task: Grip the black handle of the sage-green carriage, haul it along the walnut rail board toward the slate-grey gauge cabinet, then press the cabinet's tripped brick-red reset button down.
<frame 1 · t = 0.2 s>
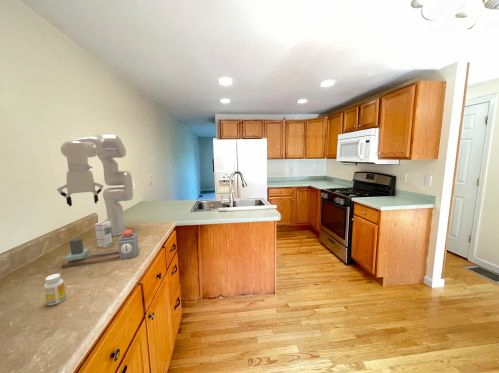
hand: (83, 204, 102), 30 cm above the countertop, fingers open, 9 cm apart
syrup box: (106, 245, 128), on the countertop
rail bed: (95, 259, 111), on the countertop
carriage: (76, 247, 108), point 7 cm above the countertop, slide at -7.0 cm
reset button: (127, 233, 114), point 12 cm above the countertop, slide at 0.0 cm
supplement bottle: (56, 301, 79), on the countertop
gauge cabinet: (129, 254, 116), on the countertop
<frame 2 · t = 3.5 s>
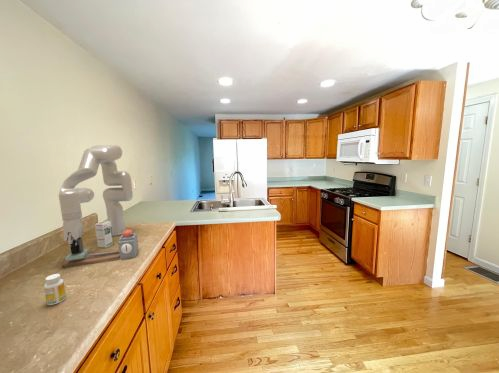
hand: (77, 250, 108), 6 cm above the countertop, fingers closed on carriage, 3 cm apart
carriage: (76, 247, 108), point 7 cm above the countertop, slide at -7.0 cm, touching gripper
everything else where it was.
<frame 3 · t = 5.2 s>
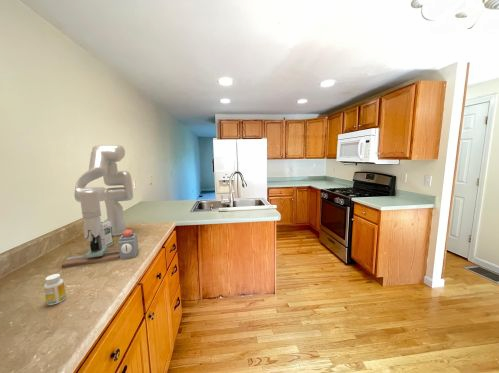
hand: (96, 248, 110), 6 cm above the countertop, fingers closed on carriage, 3 cm apart
carriage: (96, 245, 110), point 7 cm above the countertop, slide at 1.2 cm, touching gripper
everything else where it was.
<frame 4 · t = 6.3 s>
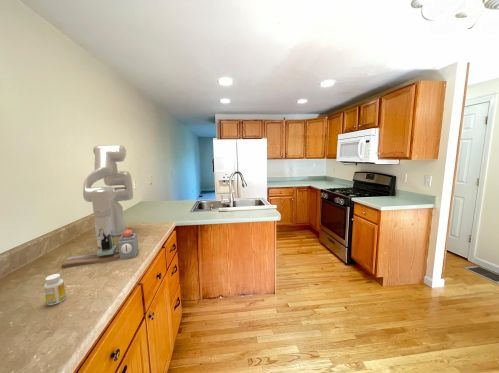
hand: (107, 246, 112), 6 cm above the countertop, fingers closed on carriage, 3 cm apart
carriage: (106, 243, 112), point 7 cm above the countertop, slide at 6.0 cm, touching gripper
everything else where it was.
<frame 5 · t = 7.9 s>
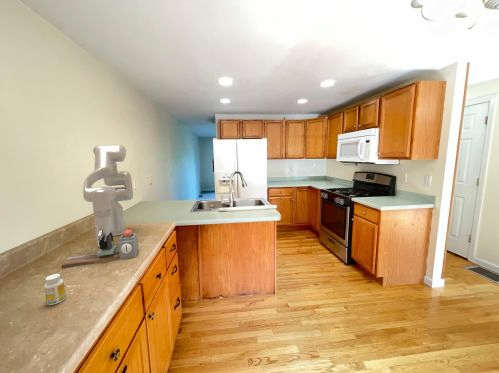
hand: (106, 245, 112), 7 cm above the countertop, fingers open, 9 cm apart
carriage: (106, 243, 112), point 7 cm above the countertop, slide at 6.0 cm
everything else where it was.
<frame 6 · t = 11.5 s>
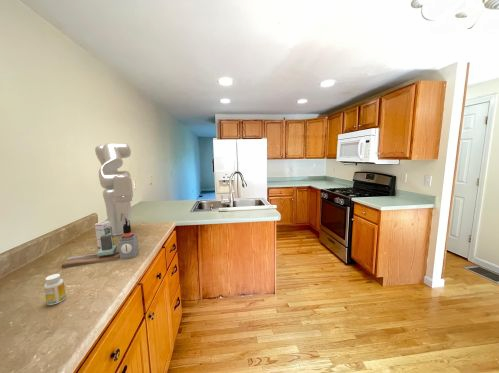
hand: (127, 232, 114), 12 cm above the countertop, fingers closed
reset button: (127, 234, 114), point 11 cm above the countertop, slide at 0.8 cm, touching gripper
everything else where it was.
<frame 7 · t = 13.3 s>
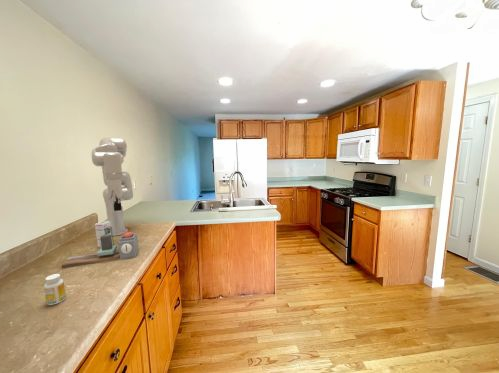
hand: (118, 210, 116), 24 cm above the countertop, fingers closed
reset button: (127, 235, 114), point 11 cm above the countertop, slide at 1.1 cm
everything else where it was.
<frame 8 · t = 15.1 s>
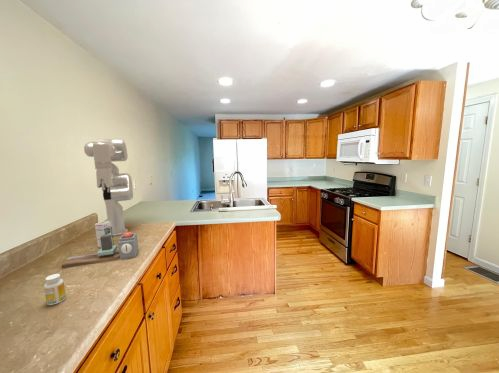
hand: (107, 199, 118), 29 cm above the countertop, fingers closed
nothing on the countertop moved.
at the end: carriage slide at 6.0 cm; reset button slide at 1.1 cm; the gripper is holding nothing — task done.
